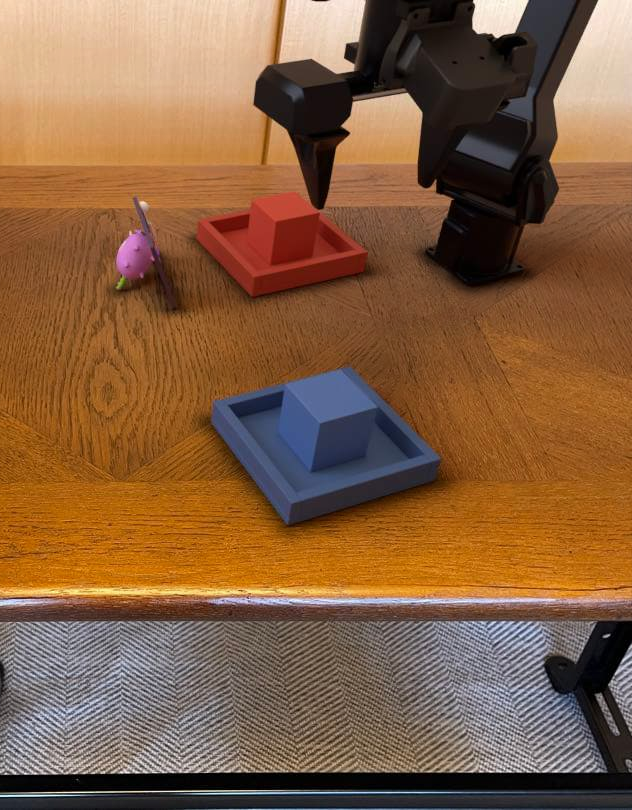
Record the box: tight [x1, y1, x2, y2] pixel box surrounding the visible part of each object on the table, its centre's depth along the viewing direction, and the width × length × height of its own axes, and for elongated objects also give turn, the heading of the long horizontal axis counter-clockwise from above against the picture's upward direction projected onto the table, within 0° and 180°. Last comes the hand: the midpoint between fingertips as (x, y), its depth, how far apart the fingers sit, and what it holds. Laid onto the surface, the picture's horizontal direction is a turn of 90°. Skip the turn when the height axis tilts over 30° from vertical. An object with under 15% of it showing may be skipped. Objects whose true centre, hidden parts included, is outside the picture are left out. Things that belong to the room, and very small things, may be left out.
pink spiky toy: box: [115, 196, 177, 310], centre depth 81 cm, size 7×5×9 cm
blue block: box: [278, 369, 378, 472], centre depth 64 cm, size 4×4×4 cm
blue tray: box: [210, 366, 442, 526], centre depth 65 cm, size 12×11×2 cm
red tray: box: [196, 199, 369, 298], centre depth 86 cm, size 12×11×2 cm
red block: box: [247, 191, 321, 265], centre depth 85 cm, size 4×4×4 cm
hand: (371, 196), depth 68 cm, fingers open, 9 cm apart
